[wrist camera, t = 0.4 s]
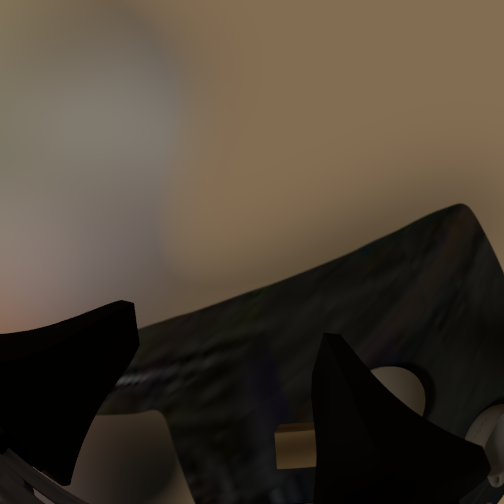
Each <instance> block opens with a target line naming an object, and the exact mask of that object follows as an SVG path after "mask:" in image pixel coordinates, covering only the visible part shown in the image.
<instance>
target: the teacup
mask: <svg viewBox="0 0 504 504" xmlns="http://www.w3.org/2000/svg"><path fill="white" fill-rule="evenodd" d="M465 440H467V441H470V442H473V443H475V444H478V445H481V446H482V447H483V449H484V451H485V453H486V456H487V458H488V461H489V463H490V466H491V468H492V469H491V471H490V473H489V475H488V476H487V478H488V479H489V482H490V484H491V485H492V486H493V487H499V486H501V485H502V484H503V483H504V404H498V405H494V406H491V407H489V408H488V409H486V410H485V411H483V412H482V413H481V414H480V415H479V416H478V417H477V418H476V419H475V421H474V422H473V423H472V425H471V426H470V428H469V430H468V432H467V434H466V437H465ZM497 476H499V478H498V477H497Z"/></svg>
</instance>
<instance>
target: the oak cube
mask: <svg viewBox="0 0 504 504" xmlns="http://www.w3.org/2000/svg"><path fill="white" fill-rule="evenodd" d="M275 445H276V458H277V469H289V468H303V467H314V466H316V439H315V429H314V421H312V422H303V423H292V424H280V425H279V427H278V428H277V430H276V432H275Z"/></svg>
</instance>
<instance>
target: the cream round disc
mask: <svg viewBox="0 0 504 504" xmlns="http://www.w3.org/2000/svg"><path fill="white" fill-rule="evenodd" d="M370 371H371V372H372V373H373V374H374V376H375V377H376V378H377V379H378V380H379V381H380V382H381V383H382V384H383V385H384V386H385V387H386V388H387V389H388V390H389V391H390V392H391V393H393V394H394V395H395V396H396V397H397V398H398V399H400V400H401V401H402V402H403V403H404V404H406V405H407V406H408V407H409V408H411V409H412V410H413V411H415V412H416V413H418V414H419V415H421V416H422V415H423V412H424V409H425V392H424V388H423V386H422V384H421V382H420V380H419V379H418V378H417V377H416V376H415V375H414V374H413V373H412V372H410V371H408V370H406V369H404V368H400V367H389V366H387V367H377V368H374V369H371V370H370Z"/></svg>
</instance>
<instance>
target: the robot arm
mask: <svg viewBox="0 0 504 504" xmlns="http://www.w3.org/2000/svg"><path fill="white" fill-rule="evenodd" d="M139 345H140V343H139V337H138V330H137V323H136V315H135V307H134V303H132V302H128V301H123V300H120V301H116V302H113V303H110V304H107V305H104V306H102V307H99V308H97V309H94V310H91V311H89V312H86V313H84V314H81V315H79V316H76V317H73V318H70V319H67V320H64V321H61V322H59V323H56V324H52V325H49V326H46V327H42V328H37V329H34V330H29V331H22V332H15V333H8V334H0V504H45V503H43V502H42V501H41V500H39V499H38V498H37V497H36V496H35V495H34V490H33V488H34V489H35V490H37V491H38V492H40V493H41V494H42V495H44V496H45V497H46V498H48V499H49V500H51V501H52V502H53V503H55V504H88V503H87V502H85V501H83V500H81V499H79V498H78V497H76V496H74V495H72V494H71V493H69V492H68V491H66V490H64V489H63V488H61V487H60V486H58V485H57V484H55V483H54V482H52V481H51V480H49V479H48V478H46V477H45V476H44V475H42V474H41V473H39V472H38V471H40V472H42V473H44V474H45V475H47V476H48V477H49V478H51V479H52V480H54V481H55V482H57V483H58V484H60V485H62V486H67V485H70V483H71V478H72V475H73V471H74V467H75V463H76V460H77V457H78V455H79V452H80V449H81V446H82V443H83V441H84V439H85V436H86V434H87V432H88V430H89V427H90V425H91V423H92V421H93V419H94V417H95V415H96V413H97V411H98V409H99V408H100V406H101V404H102V403H103V401H104V400H105V398H106V397H107V395H108V394H109V393H110V391H111V390H112V388H113V387H114V386H115V384H116V383H117V381H118V380H119V379H120V377H121V376H122V374H123V373H124V372H125V370H126V369H127V367H128V366H129V364H130V363H131V361H132V359H133V357H134V355H135V353H136V351H137V349H138V347H139ZM311 399H312V409H313V419H314V429H315V439H316V476H315V488H314V499H313V503H306V504H459V500H460V499H461V498H463V497H464V496H465V495H467V494H468V493H469V492H471V491H472V490H473V489H474V488H476V487H477V486H478V485H479V484H480V483H482V482H483V481H484V480H485V479H486V478H487V476H488V475H489V473H490V471H491V469H492V468H491V466H490V463H489V461H488V458H487V456H486V453H485V451H484V449H483V447H482V446H481V445H478V444H475V443H473V442H470V441H467V440H465V439H462V438H460V437H457V436H455V435H453V434H451V433H449V432H447V431H445V430H444V429H442V428H440V427H438V426H436V425H435V424H433V423H431V422H430V421H428V420H426V419H425V418H424V417H422V416H421V415H419V414H418V413H416V412H415V411H413V410H412V409H411V408H409V407H408V406H407V405H406V404H404V403H403V402H402V401H401V400H400V399H398V398H397V397H396V396H395V395H394V394H393V393H391V392H390V391H389V390H388V389H387V388H386V387H385V386H384V385H383V384H382V383H381V382H380V381H379V380H378V379H377V378H376V377H375V376H374V374H373V373H372V372H371V371H370V370H369V369H368V368H367V367H366V365H365V364H364V363H363V362H362V361H361V360H360V358H359V357H358V356H357V355H356V353H355V352H354V351H353V350H352V349H351V347H350V346H349V345H348V343H347V342H346V341H345V340H344V339H343V337H342V336H341V335H340V334H330V333H323V337H322V341H321V345H320V348H319V352H318V355H317V359H316V362H315V366H314V369H313V372H312V391H311ZM33 467H34V468H36V469H37V470H38V471H37V470H35V469H34V468H33ZM31 486H32V487H33V488H32V487H31ZM486 504H492V503H491V502H488V503H486Z"/></svg>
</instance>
